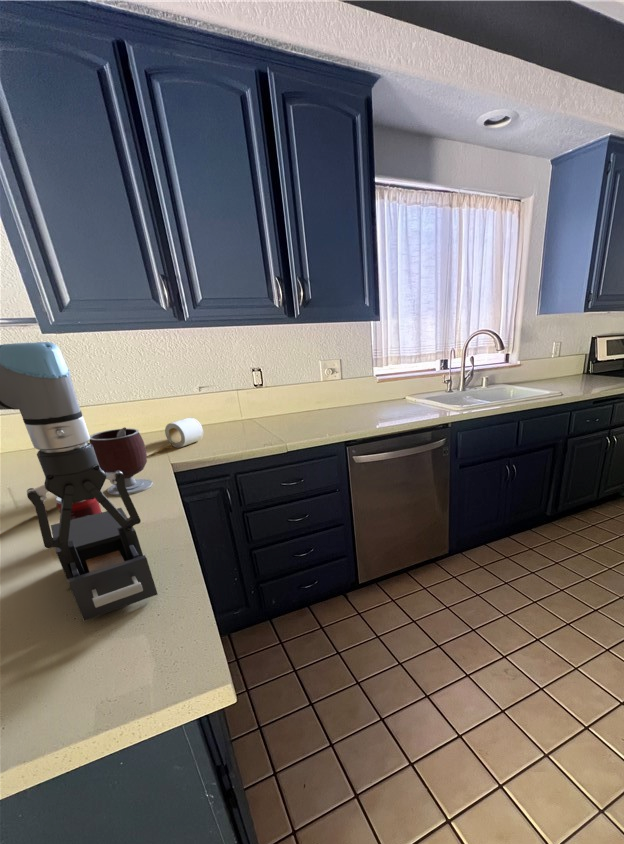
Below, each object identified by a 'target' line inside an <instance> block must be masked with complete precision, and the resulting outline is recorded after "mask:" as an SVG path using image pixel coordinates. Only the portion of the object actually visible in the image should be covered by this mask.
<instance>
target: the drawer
mask: <svg viewBox="0 0 624 844" xmlns="http://www.w3.org/2000/svg"><path fill="white" fill-rule="evenodd" d="M118 550H119V551H120V553H121V555H122V557H123V559H124V561H125V562H121V563H118V564H115V565H112V566H109V567H105V568H102V569H99V570H96V571H93V572H89V570H88V567H87V564H86V561H85V560H88V559H92V558H95V557H98V556H101V555H105V554H108V553H111V552H115V551H118ZM130 550H131V553H132V556H133V559H131V560H128V559H127V556H126V553H125V550H124V547H123V544H122V541H121V539H118V540H115V541H111V542H108V543H105V544H101V545H98V546H94V547H91V548H87V549H84V550H80V551H77V553H78V556H79V559H80V561H81V564H82V566H83V569H84V572H85V574H83V575H80V574H79V572H78V569H77V567H76V564H75V562H73V563H70V566H71V570H72V574H73V577H74V578H70V579H68V580H67V583H68V585H69V588H70V591H71V593H72V595H73V598H74V600H75V603H76V606H77V607H78V610H79V612H80V615H81V617H82V620H83V622H86V621H89V620H92V619H94V618H97V617H99V616H103V615H105V614H108V613H110V612H113V611H116V610H119V609H121V608H124V607H127V606H130V605H133V604H135V603H138V602H140V601H143V600H146V599H149V598H152V597H154V596H157V595H158V591H157V588H156V584H155V581H154V578H153V575H152V571H151V568H150V565H149V561H148V559H147V556H146V555H145V554H143V556H140V557H139V555H138V553H137V551H136V549H135V548H134V546H133V545H130Z"/></svg>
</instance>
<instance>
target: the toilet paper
mask: <svg viewBox="0 0 624 844" xmlns="http://www.w3.org/2000/svg"><path fill="white" fill-rule="evenodd" d="M164 435H165V438H166V439H167V441H168V443H170V445H172V446H173V447H175V448H178V449H180V448H183V447H185V446H188V445H191V444H194V443H196V442H199V441H201V440H202V439H203V438H204V429H203V427H202V424H201V423H200V422H199V421H198V419H196V418H194V417H187V418H183V419H179V420H175V421H173V422H170V423H167V424H166V426H165V428H164Z"/></svg>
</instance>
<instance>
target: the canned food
mask: <svg viewBox="0 0 624 844" xmlns="http://www.w3.org/2000/svg"><path fill="white" fill-rule="evenodd" d="M55 504H56V505H57V508H58V510H59V513H60V512H61V498H59V497H58V496H56V497H55ZM102 512H103V511H102V509H101V505H100V503H99V502H98V501H97V500H96V499H91V500H83V501H80V502H78V503H74V504H72V510H71V519H70V520H74V519H78V518H82V517H86V516H90V515H94V514H98V513H102Z"/></svg>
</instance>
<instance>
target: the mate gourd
mask: <svg viewBox="0 0 624 844" xmlns="http://www.w3.org/2000/svg"><path fill="white" fill-rule="evenodd" d="M89 436H90V440H89V441H88V442H89V443H90V444H92V445H93V448H94V451H95V454H96V457H97V460H98V463H99V466H100V468H101V469H102V470H103V471H104V472H115V471H117V470H120V471H121V472H122V473H123V475H124V477H125V488H126V490H127V492H128V494H129V495H134V494H137V493H141V492H145V491H146V490H148V489H150V488H151V487H152V486H153V481H152V480H150V479H148V478H147V479H146V478H136V479H135V478H134V477H133V476H135V475H137V474H139V473H141V472H142V471H143V470H144V468H145V466H146V465H147V462H148V456H147V455H148V454H147V449H146V445H145V442H144V439H143V437H142V435H141V434H140V431H139V429H137V428H127V427H125V426H124V427H122V428H116V429H109V430H103V431H99V432H96V433H93V434H91V435H89ZM107 493H108V495H110V496H118V497H120V495H119V492H118V490H117V488H116V486H115V485H113V484H111V486H109V487H108V488H107Z"/></svg>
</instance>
